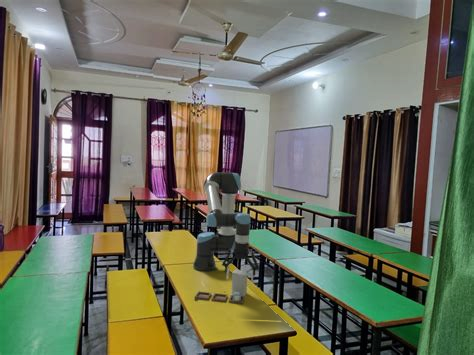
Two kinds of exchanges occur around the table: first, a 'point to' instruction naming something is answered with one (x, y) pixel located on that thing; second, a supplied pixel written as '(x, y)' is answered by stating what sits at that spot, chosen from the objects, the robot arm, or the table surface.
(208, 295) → the tray
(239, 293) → the letter cube
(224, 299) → the tray
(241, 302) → the tray
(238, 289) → the cup
